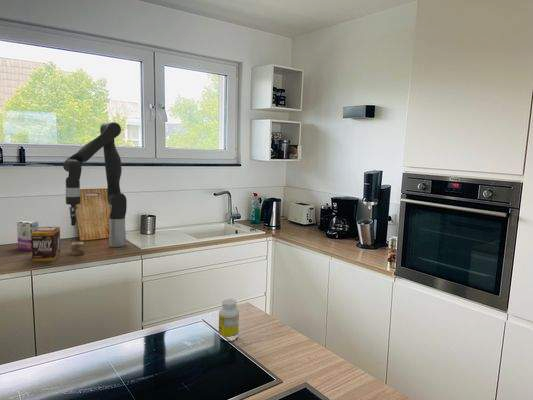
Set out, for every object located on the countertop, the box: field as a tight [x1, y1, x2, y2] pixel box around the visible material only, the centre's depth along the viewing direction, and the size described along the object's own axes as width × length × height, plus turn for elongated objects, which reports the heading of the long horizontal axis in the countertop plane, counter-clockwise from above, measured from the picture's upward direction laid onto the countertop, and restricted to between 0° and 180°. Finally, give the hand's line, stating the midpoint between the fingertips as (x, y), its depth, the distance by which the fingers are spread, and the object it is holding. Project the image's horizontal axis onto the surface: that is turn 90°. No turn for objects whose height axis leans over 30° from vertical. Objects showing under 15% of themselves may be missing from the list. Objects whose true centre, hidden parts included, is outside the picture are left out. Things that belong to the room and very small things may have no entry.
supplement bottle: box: [218, 298, 240, 337], centre depth 133 cm, size 7×7×13 cm
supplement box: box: [31, 226, 61, 262], centre depth 214 cm, size 10×15×16 cm
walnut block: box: [70, 241, 85, 256], centre depth 224 cm, size 6×6×6 cm
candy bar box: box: [16, 219, 39, 252], centre depth 228 cm, size 11×5×16 cm, turn 70°
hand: (74, 223), depth 223 cm, fingers open, 8 cm apart
